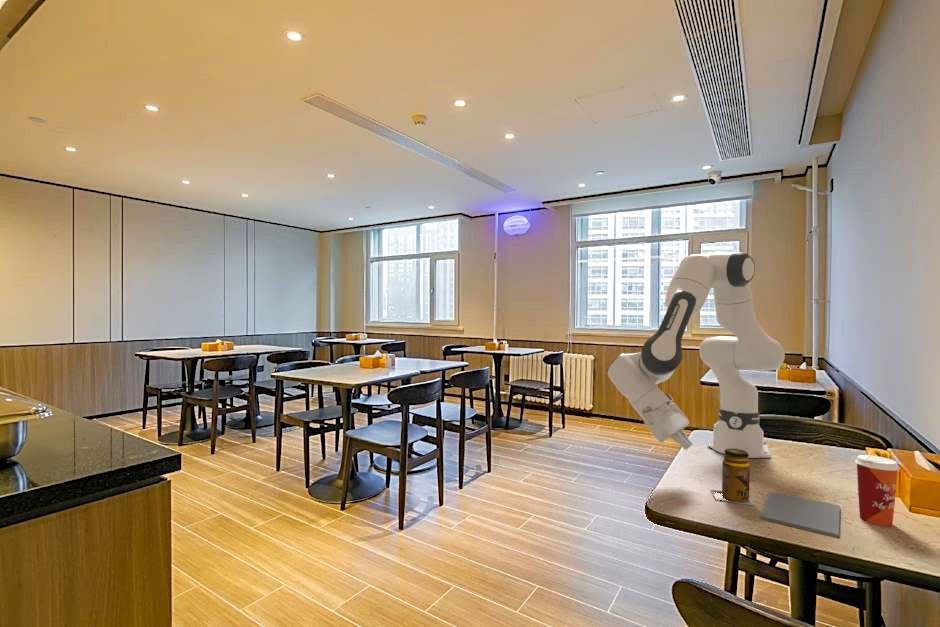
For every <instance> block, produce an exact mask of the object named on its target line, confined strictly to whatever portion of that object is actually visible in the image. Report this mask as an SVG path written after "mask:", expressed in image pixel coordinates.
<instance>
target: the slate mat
mask: <svg viewBox="0 0 940 627" xmlns="http://www.w3.org/2000/svg"><path fill="white" fill-rule="evenodd" d="M840 510H841V506H840V505H839V504H835V503H829V502H823V501H819V500H814V499H809V498H804V497H800V496H796V495H789V494H785V493H780V492H776V491H771V492H770V493H769V495H768V498H767V500H766V502H765V504H764V507H763V510H762V511H761V515H760V520H764V521H768V522H772V523H775V524H776V523H777V524H781V525H785V526H790V527H793V528H797V529H800V530H801V529H802V530H806V531H810V532H815V533H818V534H822V535H827V536H830V537H835V538H839V537H840Z"/></svg>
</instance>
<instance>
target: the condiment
mask: <svg viewBox="0 0 940 627" xmlns="http://www.w3.org/2000/svg"><path fill="white" fill-rule="evenodd" d="M724 452H725V454H723V457H724V458H723V460H722V467H721V468H722V470H721V472H722V473H721V474H722V475H721V476H722V477H721V481H722V482H721V483H722V484H721V490H717V489H710V492H711V494H712V493H713V494H715V493H716V492H717V493H720V494H721V493H722V494H723V495H722V496H723V498H725V499H726V500H723V499H721V500H722V501H721V502H729V503H734V504H741V505H748V506H754V505H755V504H754V502H753V501H752V500H751V499H750V489H751V488H750V484H751V479H750V477H751V476H750V475H751V470H750V469H751V464H750V462H749V458H748V456H749V455H748V453H747V452H746V451H744V450H740V449H733V448H729V449H726V450H725V451H724ZM714 492H715V493H714ZM718 499H719V498H718ZM718 499H716V500H715V501H717V500H718ZM727 500H728V501H727ZM718 501H719V502H720V500H718Z"/></svg>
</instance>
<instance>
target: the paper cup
mask: <svg viewBox="0 0 940 627" xmlns="http://www.w3.org/2000/svg"><path fill="white" fill-rule="evenodd" d="M854 463H855V464H856V471H857V472H856V475H857V494H858V495H857V496H858V510H859V511H858V512H859V518H861V519H862V520H861V519H860V520H861V521H863V520H864V521H863V522H865V521H866V522H865V523H867V522H868V523H867V524H870V523H871V524H870V525H873V524H874V525H873V526H877V525H879V526H878V527H884V526H890V527H891V525H892V526H893V523H894V514H895V512H894V511H895V502H896V493H897V492H896V491H897V482H898V471H900V469H901V468H900V467H899V465H898V462H897V461H896V460H894V459H891V458H888V457H883V456H879V455H878V456H877V455H871V454H870V455H869V454H860V455H857V458H856V459H855V461H854Z"/></svg>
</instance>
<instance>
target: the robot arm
mask: <svg viewBox="0 0 940 627" xmlns="http://www.w3.org/2000/svg"><path fill="white" fill-rule="evenodd" d="M755 268H756V265H755V261H754V259H753V258H752V257H751V255H749V253H747V252H742V251H734V252H731V251H729V252H728V251H714V252H708V253H707V252H706V253H699V254H698V253H695V254H694V253H693V254H690V255H687V256H685V257H684V258H683V259H682V261H681V262H680V264H679V266H678V267H677V269H676V271H675V272H674V275H673V276H672V278H671V280H670V283H669V285H668V287H667V291H666V295H665V301H664V304H665V307H666V308H667V309H666V312H665V314H664V316H663V318H662V321H661V323H660V326H659V328H658V330H657V331H656V332H655V333H654V334H653V335H652V336H650V337H649V338H648V339H647V340H646V341H645V342H644V344H643V346H642V348H641V351H639V352H633V353H620V354H619V355H617V356H616V357H615V358H614V359H613V360H612V361H611V363H610V364H609V366H608V369H607V376H608V377H609V380H610V381H611V383H612V384H613V385H614V387H615V388H616V389H617V391H618V392H619V393H620V394H621V395H622V396H624V397H625V398H626V399H627V400H628V401H629V403H630V405H631V407H632V408H633V409H634V411H636V412H637V414H638V415H639V416H640V417H641V419H642V420H643V423H644V424H645V426H646V427H647V428H648V430H649V431H650V432H651V434H652V435H653V437H654V438H655V439H656V440H657V441H658V442H660V443H664V442H665V441H667V440H668V439H672V440H673V441H674V442H675V443H677V444H678V445H680V446H681V447H682V448H683V449H684V450H688V449H689V448H690V447H692V446H693V442H692V441H691V440H690V439H689V436H688V434H687V433H686V431H685V430H684V429H685V428H687V427H688V426H689V425H690V424H691V423H690V421H689V419H688V417H687V415H685V413H684V412H683V411H682V409H680V407H679V406H678V405H677V404H676V403H675V402H673V401H674V398H673V397H672V396H671V394H668V393H665V392H663V391H662V390H661V389H660V388H659V387H658V386H657V385H660V384H661V383H663V382H666V381H668V380H669V379H670V378H671V377H672V375H673V374H674V372H675V370H676V369H677V368H678V367H679V365H680V364H681V362H682V359H683V348H682V339H683V336H684V334H685V331H686V330H687V329H686V328H687V326H688V324H689V322H690V319H691V317H694V316H696V315H697V314H698V313H700V311H701V309H702V308H703V306H704V304H705V303H706V301H707V299H708V297H709V294H710V291H711V288H713V299H714V305H715V307H714V308H715V313H716V314H715V315H716V321H717V323H718V324H719V326H721V327H722V328H724V329H725V330H726V331H729V332H731V333H732V334H733V335H734V336H727V335H726V336H725V335H719V336H711V337H706V338H705V339H703V340H702V342H701V343H700V345H699V349H698V350H699V351H698V352H699V357H700V359H701V360H702V363H703V364H704V365H706V366H707V367H709V369H710V370H711V371H712V372H713V374H714V375H715V377H716V380H717V382H718V384H719V392H720V393H719V394H720V396H719V397H720V398H719V399H720V407H719V408H718V419H719V420H718V421H717V422H715V423H714V424H713V431H712V432H713V433H712V436H713V437H712V442H710V443H708V444H707V446H708V447H707V448H709V447H710V448H709V449H711V448H712V450H714V451H716V452H718V453H721V454H723V455H725V452H724V451H725V450H726V449H729V448H733V449H740V450H744V451H746V452H747V453H748V455H749V456H748V459H749V458H751V459H756V458H759V459H760V458H764V459H765V458H767V459H771V458H772V455H771V452H770V451H769V447H768V445H767V444H766V440H764V430H763V429H762V428H761V427H760V419H761V418H760V412H759V390H758V388H757V387H756V385H755V384H753V383H752V382H750V381H749V380H746V379H745V378H744V377H743V376H742V375H741V371H740V370H743V371H753V372H766V371H767V372H768V371H769V372H770V371H776V370H778V369H780V368H781V367H782V365H783V364H784V361H785V358H786V354H785V349H784V347H783V345H782V344H781V343H780V342H779V341H777V340H775V339H774V338H772V337H771V336H770V335H768V334H767V333H766V332H765V330H764V329H763V328H762V326H761V325H760V323H759V322H758V320H757V315H756V311H755V306H754V300H753V298H754V296H753V291H752V287H751V286H752V285H751V281H752V280H753V278H754V275H755V270H756V269H755Z"/></svg>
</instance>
